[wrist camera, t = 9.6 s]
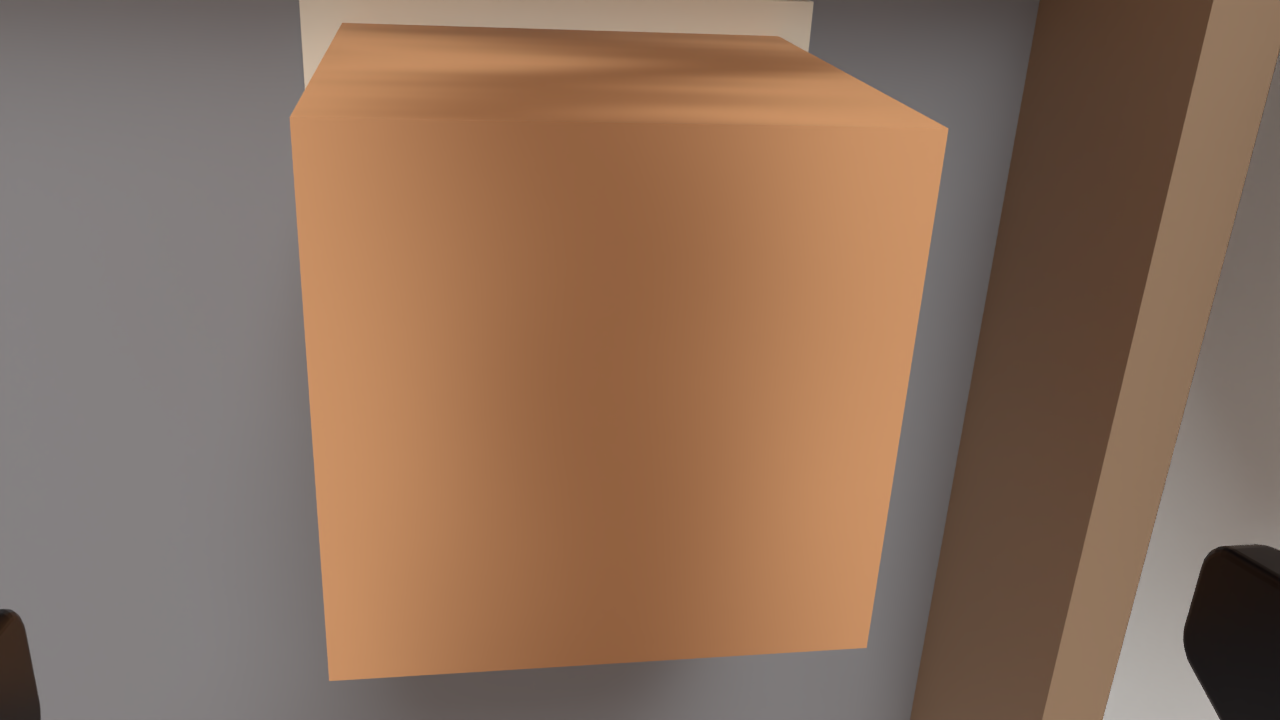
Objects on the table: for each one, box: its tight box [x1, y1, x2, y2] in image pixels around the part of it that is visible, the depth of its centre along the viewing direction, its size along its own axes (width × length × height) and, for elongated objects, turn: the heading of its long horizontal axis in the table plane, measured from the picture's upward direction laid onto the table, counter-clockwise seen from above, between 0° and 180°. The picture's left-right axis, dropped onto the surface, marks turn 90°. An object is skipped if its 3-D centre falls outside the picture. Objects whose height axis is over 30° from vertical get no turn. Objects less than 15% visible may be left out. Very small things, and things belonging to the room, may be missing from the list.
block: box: [290, 23, 949, 681], centre depth 14 cm, size 6×6×6 cm
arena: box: [0, 0, 1280, 720], centre depth 16 cm, size 18×18×5 cm
